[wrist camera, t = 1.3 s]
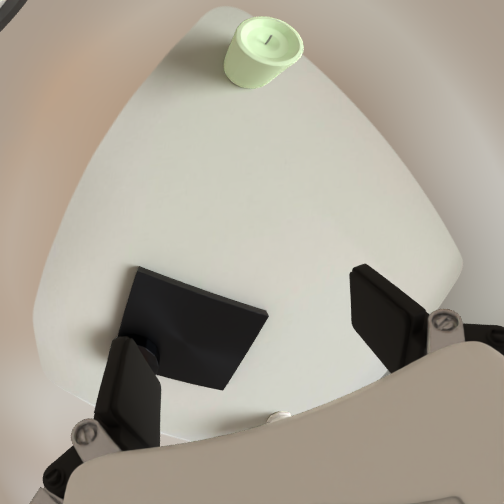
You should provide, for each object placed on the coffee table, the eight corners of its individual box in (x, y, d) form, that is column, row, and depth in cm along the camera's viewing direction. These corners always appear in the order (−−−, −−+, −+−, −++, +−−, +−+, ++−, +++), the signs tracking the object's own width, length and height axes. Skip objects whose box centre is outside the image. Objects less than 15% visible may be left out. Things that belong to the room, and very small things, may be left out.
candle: (225, 41, 21) (239, 3, 13) (276, 47, 22) (308, 15, 14) (221, 87, 22) (234, 61, 15) (273, 91, 23) (306, 71, 16)
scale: (109, 355, 30) (105, 371, 27) (135, 264, 27) (129, 277, 24) (220, 386, 35) (223, 402, 32) (266, 310, 32) (273, 325, 29)
